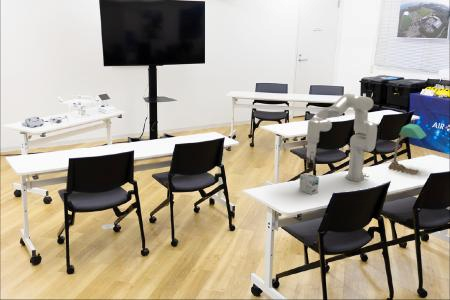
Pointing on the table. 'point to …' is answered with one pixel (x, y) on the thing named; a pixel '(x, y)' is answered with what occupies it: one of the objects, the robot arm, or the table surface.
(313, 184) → the light bulb box
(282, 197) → the table surface
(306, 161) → the walnut block
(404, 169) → the banker's lamp
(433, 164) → the table surface
